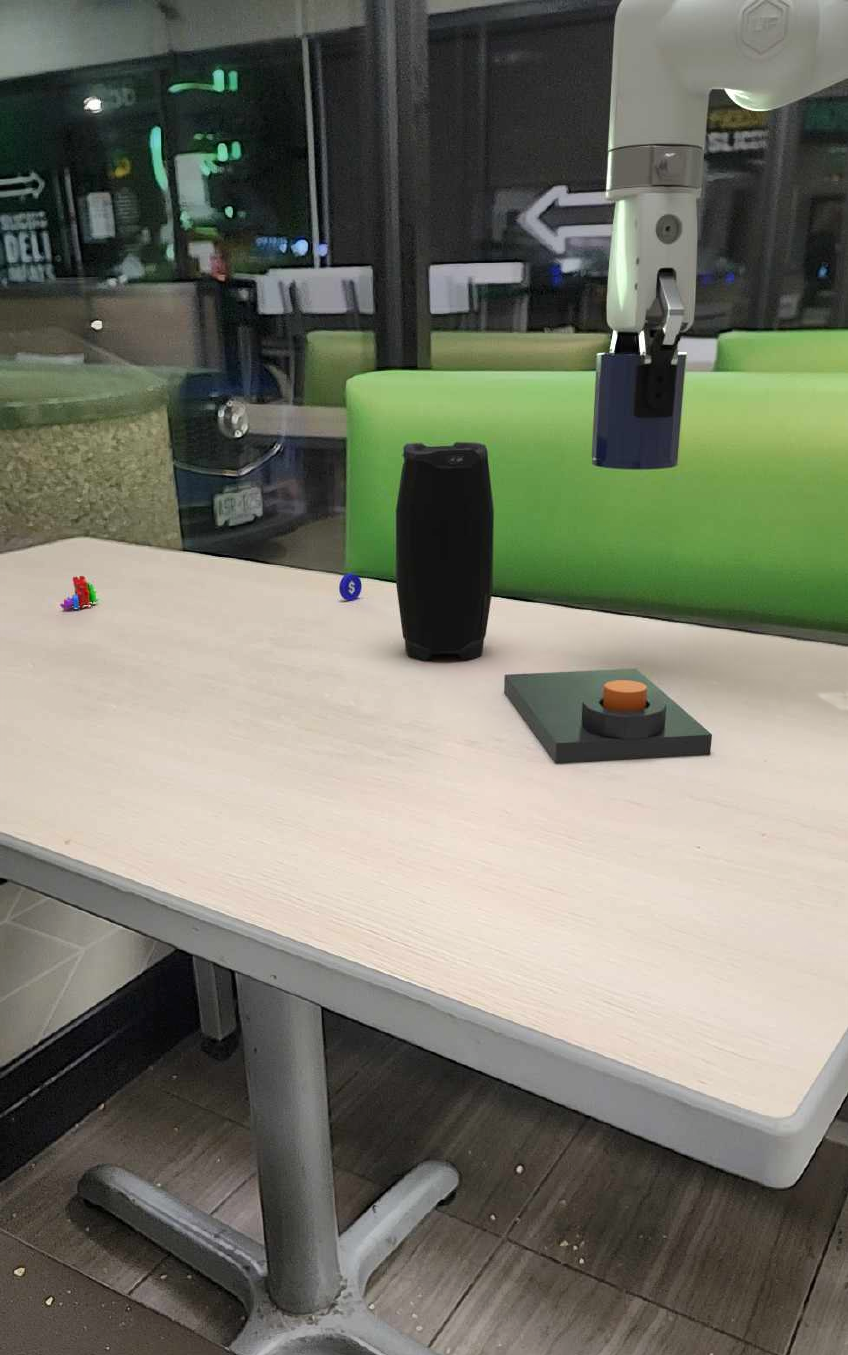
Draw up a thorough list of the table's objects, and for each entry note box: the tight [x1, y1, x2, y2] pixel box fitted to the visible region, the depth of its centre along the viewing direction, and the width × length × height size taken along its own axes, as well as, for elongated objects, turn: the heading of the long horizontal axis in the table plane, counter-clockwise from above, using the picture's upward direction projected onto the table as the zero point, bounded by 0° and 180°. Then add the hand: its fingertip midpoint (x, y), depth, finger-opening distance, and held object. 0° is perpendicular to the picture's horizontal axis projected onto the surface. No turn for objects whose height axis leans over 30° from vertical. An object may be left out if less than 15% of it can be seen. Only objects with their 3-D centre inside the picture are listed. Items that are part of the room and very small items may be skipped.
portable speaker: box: [395, 441, 495, 662], centre depth 109 cm, size 9×9×20 cm
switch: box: [603, 680, 647, 711], centre depth 87 cm, size 3×3×2 cm
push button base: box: [503, 668, 713, 765], centre depth 93 cm, size 12×18×4 cm, turn 9°
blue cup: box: [591, 352, 688, 471], centre depth 98 cm, size 7×7×9 cm
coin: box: [338, 573, 363, 601], centre depth 134 cm, size 3×1×3 cm, turn 138°
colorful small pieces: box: [60, 575, 100, 611], centre depth 131 cm, size 5×3×4 cm, turn 131°
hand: (638, 412), depth 98 cm, fingers closed on blue cup, 7 cm apart
